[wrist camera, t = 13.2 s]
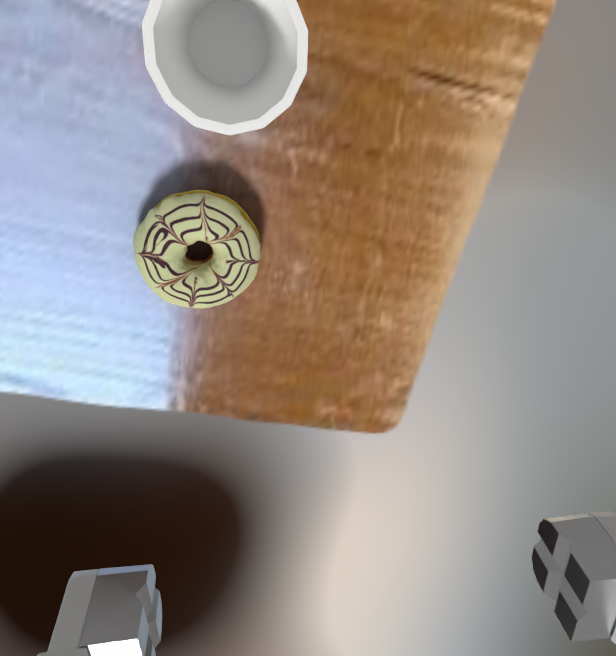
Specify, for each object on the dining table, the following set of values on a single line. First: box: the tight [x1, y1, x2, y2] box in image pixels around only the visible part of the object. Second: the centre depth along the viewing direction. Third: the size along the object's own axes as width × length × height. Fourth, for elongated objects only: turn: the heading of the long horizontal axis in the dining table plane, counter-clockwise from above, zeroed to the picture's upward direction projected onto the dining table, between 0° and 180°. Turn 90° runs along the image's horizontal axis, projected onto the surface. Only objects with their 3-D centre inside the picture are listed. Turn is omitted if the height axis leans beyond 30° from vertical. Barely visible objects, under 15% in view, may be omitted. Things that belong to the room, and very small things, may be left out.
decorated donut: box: [133, 190, 261, 308], centre depth 49 cm, size 10×11×4 cm
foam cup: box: [142, 0, 308, 135], centre depth 38 cm, size 10×9×13 cm
